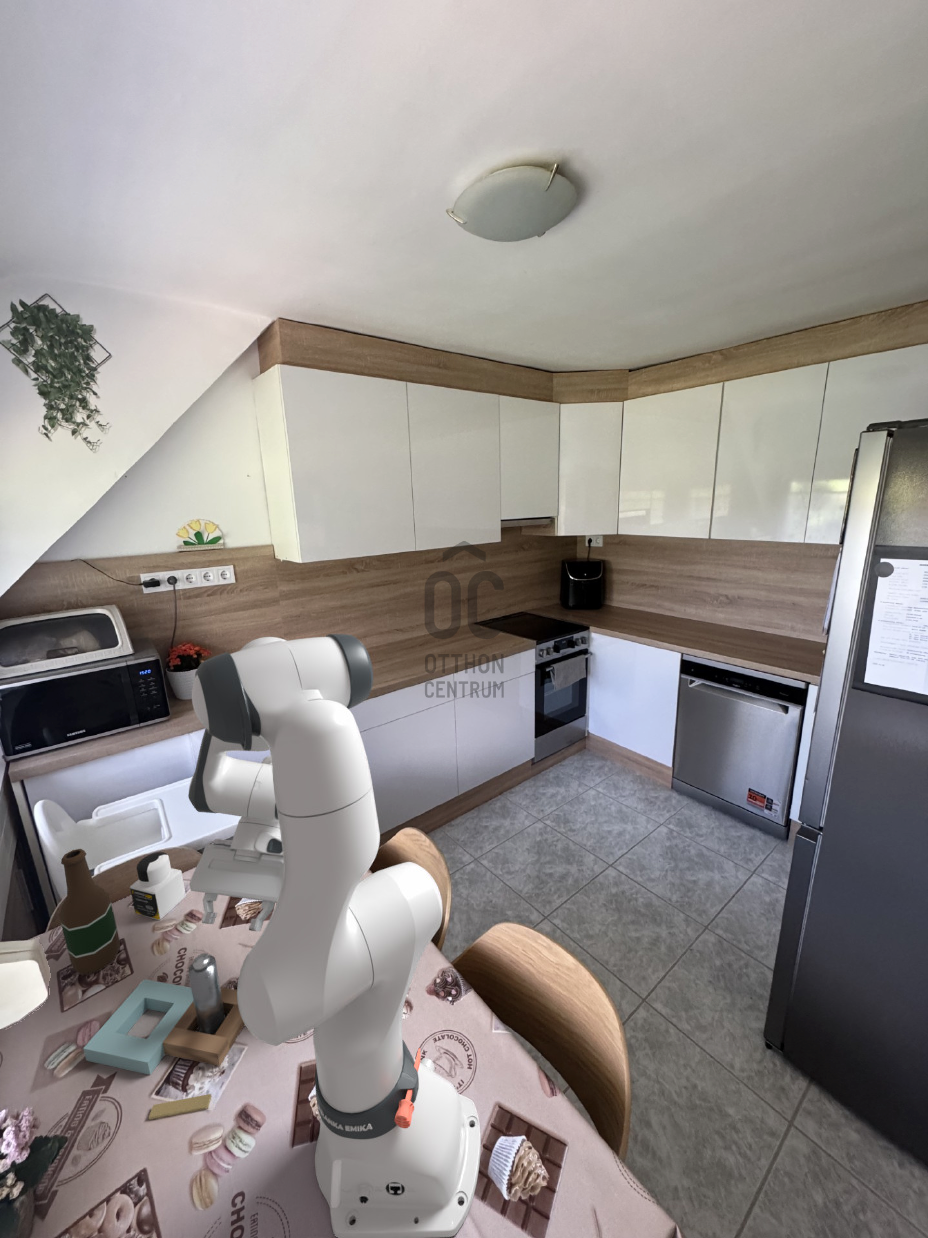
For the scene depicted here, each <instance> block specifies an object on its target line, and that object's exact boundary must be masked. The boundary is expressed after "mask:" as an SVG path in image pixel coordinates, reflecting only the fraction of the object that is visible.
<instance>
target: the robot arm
mask: <svg viewBox="0 0 928 1238" xmlns="http://www.w3.org/2000/svg"><path fill="white" fill-rule="evenodd" d="M372 663H373V662H372V661H371V657H370V654H369V652H368V649H367V647H366V646H365V644H364V643H363V642H362V641H361V640H359V639H358V638H356V636H354V635H353V634H345V633H329V634H327V635H326V636H319V637H318V636H316V637H306V638H305V637H304V638H297V639H291V640H286V639H283V638H280V637H275V636H263V637H259V638H256V639H253V640H251V641H249V642H247V643H246V644H245V645H243V646H242V647H241V649H240V650H238V651H236V652H235V651H234V652H233V653H229V652H228V651H226V652H223V653H221V654H218V655H215V656H213V657H210V658H208V659H206V660H204V661H202V662H201V663H200V664H199V666H198V667H197V669H196V671H195V672H194V676H195V677H194V680H193V685H192V687H191V688H192V689H191V702H192V707H193V711H194V713H195V716H196V717H197V719H198V721H199V722H200V723H201V725H202V726H203V727H204V728H205V729H204V732H203V735H202V738H201V743H200V745H199V746H200V747H199V752H198V757H197V760H196V765H195V770H194V772H193V775H192V777H191V780H190V783H189V787H188V795H187V796H188V797H187V798H188V799H189V802H190V804H192V807H193V808H194V809H195V810H196V811H197V812H198V813H207V814H223V815H229V816H236V817H240V819H239V820H238V823H237V825H236V828H235V832H234V834H233V838H232V839H222V838H215V839H214V840H212V841H210V842H208V844H207V843H206V845H205V847H204V849H203V852H202V854H201V858H200V859H199V861H198V863H197V864H196V865H197V866H195V869H194V871H193V874H192V876H191V879H190V880H189V888H190V891H191V892H198V893H204V895H203V898H202V904H203V911H204V913H203V916H202V919H201V923H202V924H205V925H214V924H215V922H216V918H217V915H218V912H214V902H217V900H218V896H224V897H232V898H241V899H247V900H254V901H261V905H260V909H262V910H261V911H260V913H259V914H258V915H257V917H256V918H251V920H250V925H249V926H248V931H251V932H257V933H258V932H260V931H261V930H262V927H263V925H264V921H265V920H266V919H267V918H268V917H269V915H270V914H271V913H272V914H271V916H270V918H269V920H268V922H267V924H266V927H265V928H264V930H263V932H262V933H261V935H260V936H259V938H258V939H257V940H256V942H255V943H254V946H252V947H251V950H250V951H248V953H246V956H245V958H244V960H243V962H242V965H241V968H240V971H239V976H238V982H237V986H236V987H237V989H236V990H237V1001H238V1007H239V1012H240V1015H241V1017H242V1020H243V1022H244V1024H245V1025H244V1026H245V1027H246V1029H247V1030H248V1031H249V1032H250V1034H251V1035H253V1036H254V1037H255V1038H256V1039H258V1040H259V1041H261V1042H262V1043H265V1044H267V1045H270V1046H274V1047H277V1046H280V1045H282V1044H284V1043H286V1042H288V1041H291V1040H293V1039H295V1038H298V1037H300V1036H301V1035H303V1034H305V1033H307V1032H309V1031H311V1030H312V1031H313V1032H312V1033H313V1034H312V1041H313V1049H314V1056H315V1065H316V1068H315V1076H314V1086H315V1097H316V1107H317V1110H318V1114H319V1116H320V1126H319V1135H318V1137H317V1142H316V1144H315V1152H314V1153H315V1155H314V1167H315V1168H314V1169H315V1175H316V1180H317V1182H318V1183H317V1184H318V1186H319V1189H320V1191H321V1193H322V1194H323V1196H324V1198H325V1200H326V1202H327V1204H328V1207H329V1214H330V1222H331V1224H330V1225H331V1229H332V1233H333V1235H334V1234H335V1235H334V1237H335V1236H336V1237H338V1238H450V1237H451V1238H452V1237H453V1236H454V1237H455V1235H457V1234H458V1231H459V1230H460V1229H461V1227H462V1226H463V1224H464V1222H465V1220H466V1218H467V1217H468V1214H469V1212H470V1209H471V1206H472V1203H473V1199H474V1195H475V1191H476V1187H477V1182H478V1176H479V1171H480V1161H481V1151H482V1150H481V1148H482V1147H481V1144H482V1143H481V1142H482V1135H481V1132H482V1131H481V1124H480V1118H479V1113H478V1111H477V1107H476V1104H475V1103H474V1100H472V1099H470V1098H469V1097H467V1096H465V1095H462V1094H460V1093H458V1091H457V1089H456V1087H455V1085H453V1083H452V1082H450V1081H449V1080H447V1079H446V1078H444V1077H443V1076H441V1075H439V1074H438V1073H437V1072H435V1070H436V1069H435V1068H436V1066H435V1064H434V1062H433V1061H432V1059H429V1058H427V1057H425V1058H424V1057H423V1058H422V1059H421V1054H422V1053H421V1048H418V1050H417V1054H416V1057H415V1058H414V1056H413V1055H412V1053H411V1052H410V1049H409V1048H408V1046H407V1044H406V1043H405V1041H404V1039H403V1010H404V1006H405V1002H406V999H407V995H408V993H409V989H410V987H411V983H412V980H413V977H414V974H415V973H416V969H417V967H418V966H419V962H420V961H421V959H422V957H423V954H424V953H425V951H426V949H427V947H428V945H429V944H430V942H431V941H432V939H433V937H434V936H435V935H436V933H437V932H438V930H439V929H440V927H441V924H442V922H443V921H442V919H443V899H442V895H441V892H440V889H439V887H438V884H437V883H436V881H435V879H434V878H433V876H432V875H431V874H430V873H429V872H428V871H427V870H426V869H425V868H423V866H420V864H417V863H415V862H411V861H406V862H402V863H398V864H395V865H392V866H389V867H387V868H384V869H383V868H382V869H380V870H377V871H376V872H374V873H372V874H370V875H368V876H367V877H365V878H363V877H364V876H365V874H367V872H368V871H369V869H370V868H371V866H372V865H373V862H374V861H375V859H376V858H377V854H378V851H379V848H380V842H381V841H380V840H381V833H380V827H379V826H380V825H379V819H378V812H377V806H376V801H375V793H374V789H373V788H374V787H373V780H372V775H371V770H370V769H371V768H370V765H369V760H368V756H367V752H366V749H365V744H364V741H363V739H362V736H361V732H360V729H359V727H358V724H357V721H356V719H355V716H354V715H353V713H352V711H351V710H350V709H352V708H355V707H356V706H359V704H361V703H364V702H365V700H367V699H368V698H369V696H370V694H371V691H372V689H373V685H374V670H373V669H374V668H373V664H372ZM266 751H269V753H270V755H268V756H265V757H264V758H263V759H262V761H261V762H258V761H257V762H256V761H250V760H245V759H239V758H235V757H231V756H229V755H228V753H229V752H257V753H258V752H266ZM471 1125H474V1126H473V1127H471ZM461 1201H462V1202H463V1204H462V1205H460V1204H459V1202H461ZM353 1220H354V1221H355V1223H353V1224H352V1225H351V1224H350V1223H351V1222H352V1221H353ZM336 1237H335V1238H336Z"/></svg>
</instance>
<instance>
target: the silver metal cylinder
mask: <svg viewBox="0 0 928 1238" xmlns="http://www.w3.org/2000/svg"><path fill="white" fill-rule="evenodd" d="M216 960H217V959H216V957H215V956H214V955H211V954H209V953H202V954H199V955H197V956H196V957H194V959H193V961H192V962H191V964H190V966H189V967H188V971H187V972H188V973H187V974H188V977H189V978H188V979H189V983H190V988H191V989H192V995H193V1000H194V1006H195V1011H196V1016H197V1022H198V1027H199V1028H198V1032H200V1033H205V1034H210V1035H215V1034H216V1032H217V1031H218V1029H219V1028H220V1026H221V1024H222V1023H223V1021H224V1020H225V1018H226V1014H225V1012H224V1007H223V1001H222V995H221V989H220V987H221V983H220V978H219V971H218V967H217V961H216Z"/></svg>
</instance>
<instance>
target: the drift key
mask: <svg viewBox="0 0 928 1238" xmlns="http://www.w3.org/2000/svg"><path fill="white" fill-rule="evenodd" d="M212 1097H213V1096H212V1093H208V1094H203V1095H198V1096H192V1097H188V1098H182V1099H178V1100H171V1101H167V1102H162V1103H155V1104H153V1105H152V1108H151V1110H150V1112H149V1115H148V1120H149V1121H151V1120H158V1119H161V1118H167V1117H171V1116H176V1115H182V1114H183V1115H184V1114H187V1113H192V1112H197V1111H202V1110H207V1109H209V1108H210V1103H211V1101H212Z"/></svg>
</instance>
